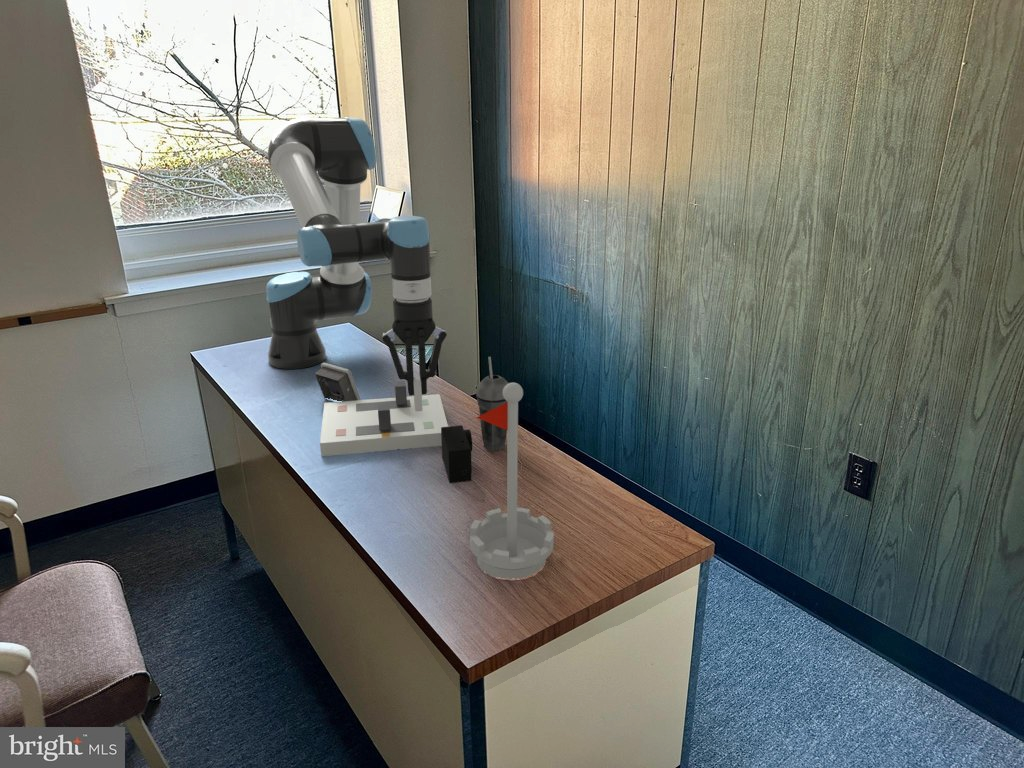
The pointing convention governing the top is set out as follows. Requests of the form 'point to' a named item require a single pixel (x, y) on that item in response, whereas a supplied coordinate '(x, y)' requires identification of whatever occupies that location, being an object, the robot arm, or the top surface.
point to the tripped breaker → (384, 416)
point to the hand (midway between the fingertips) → (418, 408)
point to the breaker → (400, 392)
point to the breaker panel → (359, 430)
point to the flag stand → (510, 512)
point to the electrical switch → (337, 383)
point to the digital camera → (457, 453)
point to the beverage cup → (487, 400)
